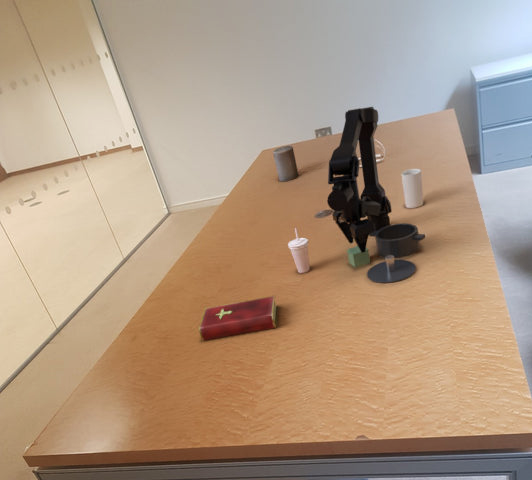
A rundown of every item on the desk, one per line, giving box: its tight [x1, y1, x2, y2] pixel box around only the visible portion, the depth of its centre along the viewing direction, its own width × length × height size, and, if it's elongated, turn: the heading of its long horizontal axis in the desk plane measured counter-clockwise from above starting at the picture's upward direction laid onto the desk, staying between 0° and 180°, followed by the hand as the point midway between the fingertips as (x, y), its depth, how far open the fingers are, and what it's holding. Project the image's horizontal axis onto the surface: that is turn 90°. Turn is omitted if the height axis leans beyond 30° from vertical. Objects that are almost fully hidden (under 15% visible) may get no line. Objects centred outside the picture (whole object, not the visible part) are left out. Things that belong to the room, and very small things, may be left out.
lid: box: [366, 255, 417, 284], centre depth 161 cm, size 14×14×5 cm
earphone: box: [358, 138, 386, 168], centre depth 260 cm, size 14×17×18 cm
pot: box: [369, 222, 426, 259], centre depth 172 cm, size 13×18×6 cm
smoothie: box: [287, 227, 311, 274], centre depth 175 cm, size 6×6×14 cm
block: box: [346, 245, 371, 269], centre depth 171 cm, size 5×5×5 cm
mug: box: [400, 168, 424, 209], centre depth 201 cm, size 10×7×12 cm, turn 161°
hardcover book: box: [198, 294, 279, 341], centre depth 158 cm, size 12×21×4 cm, turn 87°
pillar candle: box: [272, 145, 300, 182], centre depth 266 cm, size 10×10×15 cm
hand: (357, 247), depth 170 cm, fingers open, 9 cm apart
